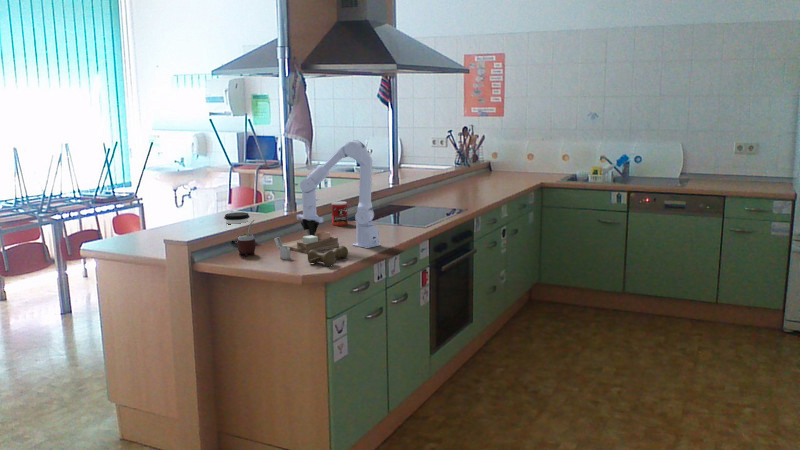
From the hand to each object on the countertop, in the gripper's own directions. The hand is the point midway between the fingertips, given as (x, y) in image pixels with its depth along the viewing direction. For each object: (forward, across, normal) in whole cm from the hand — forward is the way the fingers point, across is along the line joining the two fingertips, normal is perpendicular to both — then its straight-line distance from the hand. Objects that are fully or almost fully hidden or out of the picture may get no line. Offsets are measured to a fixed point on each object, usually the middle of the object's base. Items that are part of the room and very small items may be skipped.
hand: (310, 237), depth 296 cm
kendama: (+3, -30, +19) cm, 36 cm away
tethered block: (+1, -5, 0) cm, 5 cm away
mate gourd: (+3, +6, +29) cm, 30 cm away
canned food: (+3, +22, -40) cm, 46 cm away
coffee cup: (+3, +31, +14) cm, 35 cm away
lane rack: (+3, -3, +4) cm, 6 cm away
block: (+2, -9, +8) cm, 12 cm away
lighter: (+3, -10, +24) cm, 26 cm away
